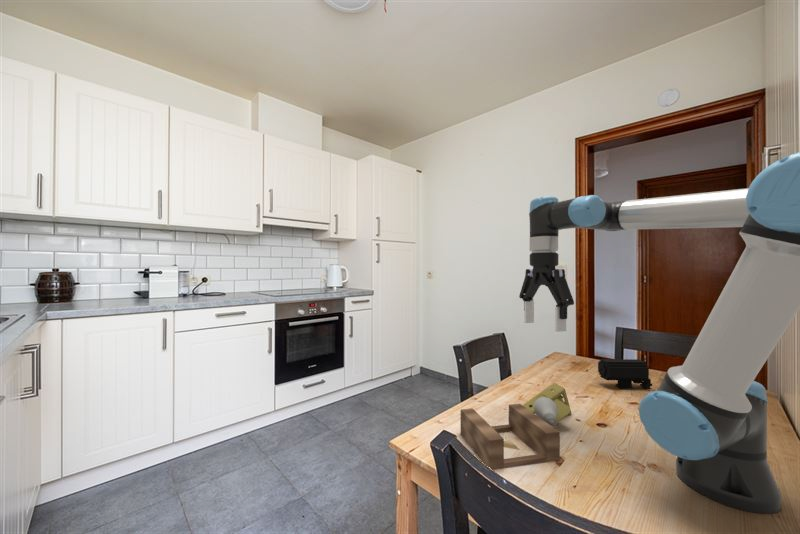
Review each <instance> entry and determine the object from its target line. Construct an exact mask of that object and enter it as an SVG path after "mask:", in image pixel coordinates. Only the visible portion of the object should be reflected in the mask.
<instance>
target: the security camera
mask: <svg viewBox="0 0 800 534" xmlns="http://www.w3.org/2000/svg"><path fill="white" fill-rule="evenodd" d="M597 372H598V375H600V378H601V379H603V380H605V381H617V383H615V387H618V388H620V389H632V388H633V384H639V386H640V387H641V388H642V389H643V388H644V389H651V387H653V383H652V380H651V379H652V378H650V377H649V374H650V368H649V367H648V364H646V361H644V360H640V359H633V358H632V359H628V358H625V359H623V358H621V359H619V358H618V359H617V358H616V359H615V358H613V359H611V358H605V359H604V358H602V359H601V358H600V360H599V361H598V362H597Z"/></svg>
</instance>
